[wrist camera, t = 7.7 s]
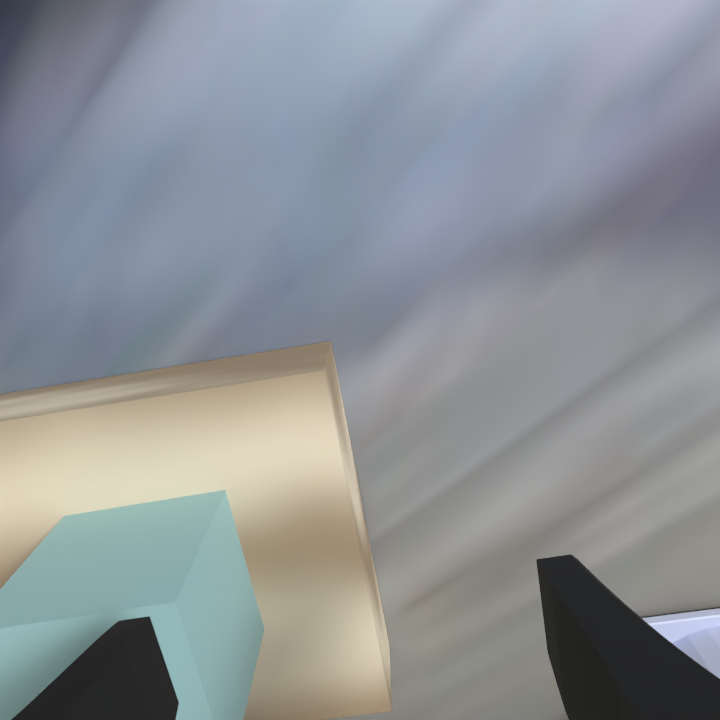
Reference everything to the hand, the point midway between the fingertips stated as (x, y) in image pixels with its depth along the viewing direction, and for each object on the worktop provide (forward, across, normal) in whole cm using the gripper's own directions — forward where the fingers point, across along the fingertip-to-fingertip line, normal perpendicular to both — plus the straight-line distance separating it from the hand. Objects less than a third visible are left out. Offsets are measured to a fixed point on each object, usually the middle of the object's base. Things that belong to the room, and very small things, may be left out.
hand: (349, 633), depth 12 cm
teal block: (+7, +6, +3) cm, 10 cm away
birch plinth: (+10, +6, +3) cm, 12 cm away
